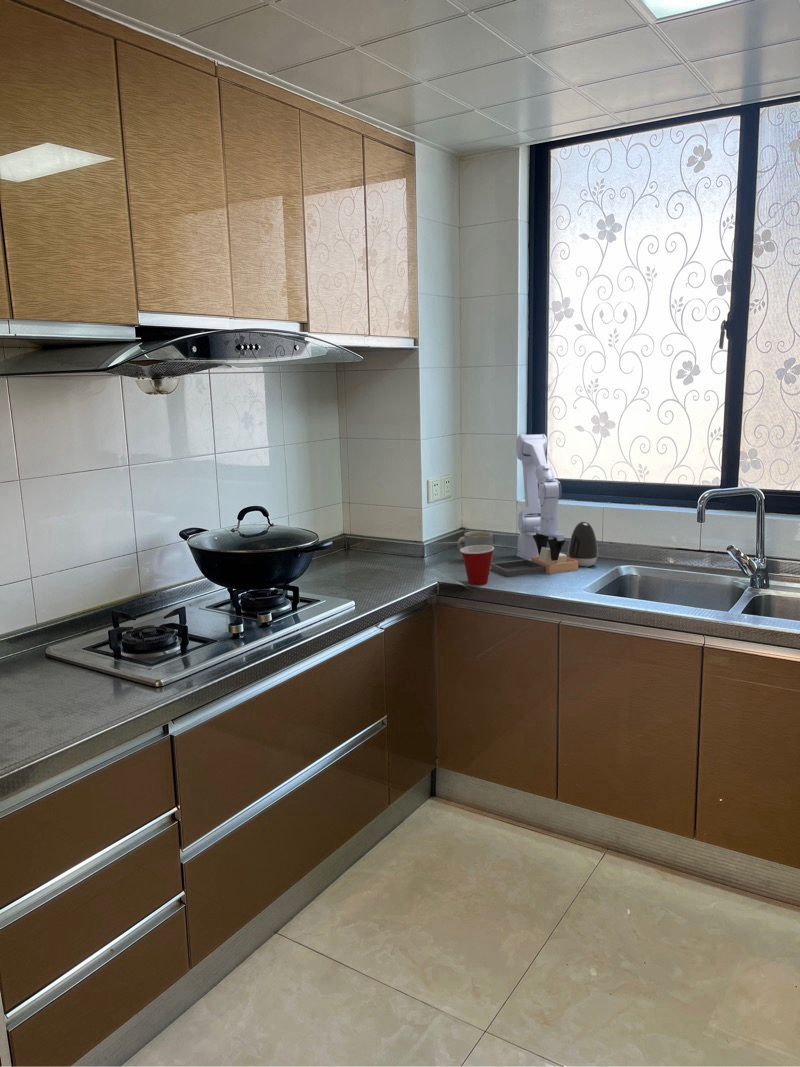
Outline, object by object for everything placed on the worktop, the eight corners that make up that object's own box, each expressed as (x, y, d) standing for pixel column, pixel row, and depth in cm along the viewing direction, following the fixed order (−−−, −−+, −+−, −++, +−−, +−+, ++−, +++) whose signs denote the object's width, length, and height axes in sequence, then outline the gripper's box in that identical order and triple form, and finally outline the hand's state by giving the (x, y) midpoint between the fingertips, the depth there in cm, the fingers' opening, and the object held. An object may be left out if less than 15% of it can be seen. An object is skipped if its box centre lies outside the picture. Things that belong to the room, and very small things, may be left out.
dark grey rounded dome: (595, 561, 280) (596, 519, 277) (599, 569, 270) (601, 524, 267) (565, 561, 281) (567, 519, 278) (569, 568, 271) (570, 524, 268)
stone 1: (538, 559, 269) (541, 546, 269) (548, 561, 271) (551, 548, 270) (544, 562, 265) (548, 549, 265) (554, 564, 267) (558, 551, 267)
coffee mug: (498, 561, 282) (498, 534, 280) (478, 566, 276) (478, 538, 274) (471, 555, 292) (471, 528, 290) (451, 560, 286) (451, 532, 284)
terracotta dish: (531, 567, 273) (531, 557, 272) (559, 564, 277) (559, 554, 276) (549, 575, 263) (549, 564, 262) (578, 571, 267) (578, 561, 266)
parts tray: (490, 571, 269) (490, 563, 269) (527, 566, 275) (527, 559, 274) (507, 579, 259) (507, 571, 259) (545, 574, 264) (545, 566, 264)
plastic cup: (462, 579, 260) (462, 543, 257) (495, 580, 258) (495, 544, 255) (457, 588, 249) (457, 550, 247) (492, 589, 247) (492, 551, 245)
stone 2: (549, 566, 271) (550, 553, 271) (559, 565, 273) (560, 552, 272) (556, 569, 268) (556, 556, 267) (566, 568, 269) (566, 555, 268)
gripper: (527, 515, 270) (526, 554, 273) (550, 522, 257) (550, 563, 260) (545, 513, 273) (544, 552, 276) (569, 520, 260) (568, 561, 263)
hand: (548, 557), depth 268 cm, fingers open, 7 cm apart
